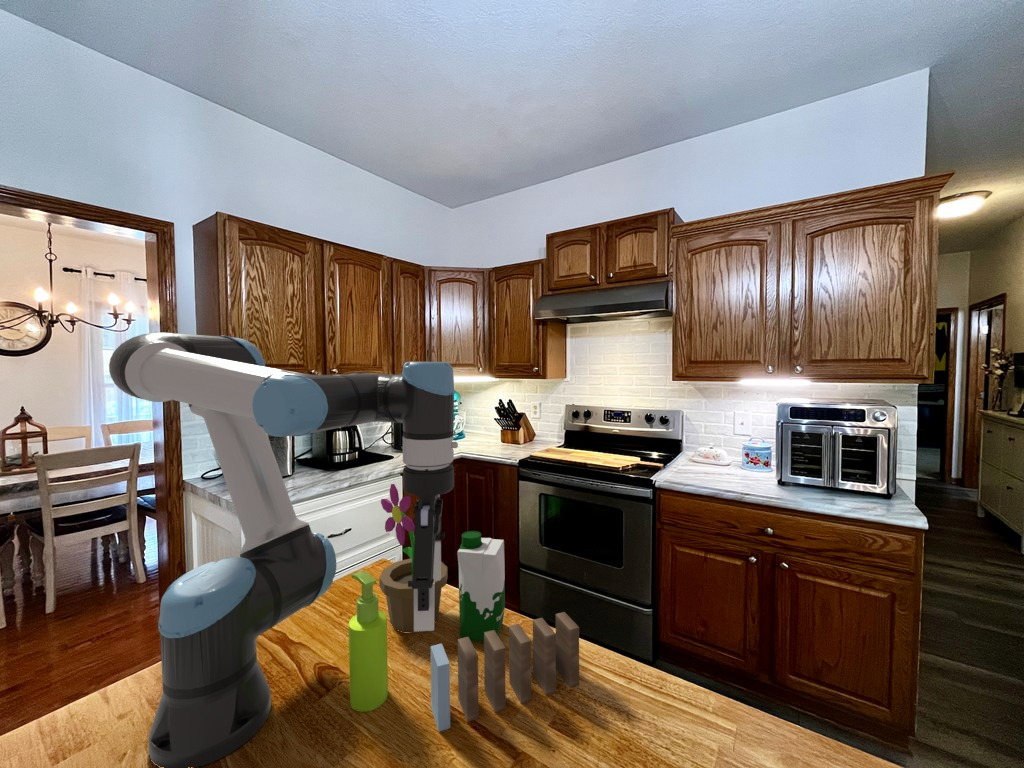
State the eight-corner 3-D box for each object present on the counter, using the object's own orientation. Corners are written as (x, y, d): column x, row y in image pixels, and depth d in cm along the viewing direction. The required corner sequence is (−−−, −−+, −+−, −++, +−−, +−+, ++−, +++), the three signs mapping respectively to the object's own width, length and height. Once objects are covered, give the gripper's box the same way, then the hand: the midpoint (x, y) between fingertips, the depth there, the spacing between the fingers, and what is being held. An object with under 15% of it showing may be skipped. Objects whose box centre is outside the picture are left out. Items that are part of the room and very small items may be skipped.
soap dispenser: (374, 676, 75) (372, 564, 74) (394, 697, 70) (392, 578, 70) (341, 694, 71) (338, 575, 70) (360, 718, 66) (357, 591, 65)
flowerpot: (367, 620, 92) (364, 482, 91) (422, 593, 103) (420, 469, 101) (405, 649, 82) (402, 495, 81) (461, 617, 93) (460, 480, 92)
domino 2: (467, 722, 65) (466, 658, 65) (458, 698, 70) (457, 639, 70) (478, 718, 66) (477, 655, 66) (468, 695, 71) (468, 636, 70)
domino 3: (494, 712, 67) (494, 650, 67) (484, 690, 72) (484, 632, 71) (505, 709, 68) (505, 647, 67) (494, 687, 72) (494, 629, 72)
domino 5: (546, 695, 71) (545, 636, 70) (533, 675, 75) (532, 619, 75) (555, 692, 71) (555, 633, 71) (542, 672, 76) (542, 617, 75)
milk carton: (467, 616, 93) (466, 525, 92) (508, 621, 91) (507, 528, 90) (454, 642, 84) (453, 542, 84) (499, 647, 83) (498, 545, 82)
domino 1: (438, 732, 64) (437, 666, 63) (431, 707, 68) (430, 646, 68) (450, 728, 64) (449, 663, 64) (442, 704, 69) (441, 643, 69)
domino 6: (569, 687, 72) (569, 629, 72) (555, 668, 77) (555, 614, 77) (579, 684, 73) (579, 627, 73) (564, 665, 78) (564, 611, 77)
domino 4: (521, 704, 69) (520, 643, 68) (509, 683, 73) (508, 626, 73) (531, 700, 70) (530, 640, 69) (518, 680, 74) (518, 623, 74)
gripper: (450, 487, 52) (450, 655, 53) (456, 447, 77) (456, 563, 78) (387, 488, 52) (388, 659, 53) (414, 448, 76) (414, 564, 77)
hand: (428, 602), depth 65 cm, fingers open, 13 cm apart
